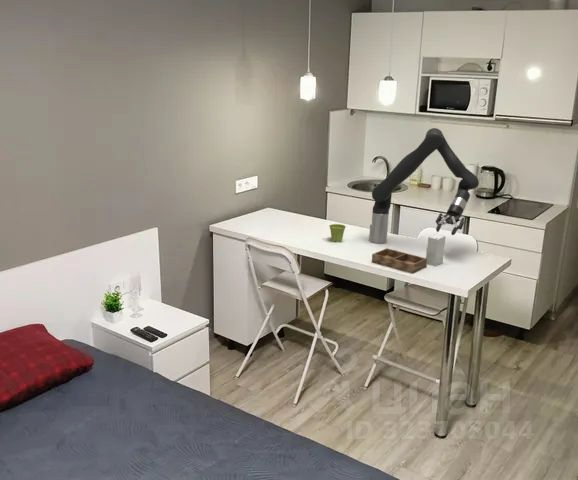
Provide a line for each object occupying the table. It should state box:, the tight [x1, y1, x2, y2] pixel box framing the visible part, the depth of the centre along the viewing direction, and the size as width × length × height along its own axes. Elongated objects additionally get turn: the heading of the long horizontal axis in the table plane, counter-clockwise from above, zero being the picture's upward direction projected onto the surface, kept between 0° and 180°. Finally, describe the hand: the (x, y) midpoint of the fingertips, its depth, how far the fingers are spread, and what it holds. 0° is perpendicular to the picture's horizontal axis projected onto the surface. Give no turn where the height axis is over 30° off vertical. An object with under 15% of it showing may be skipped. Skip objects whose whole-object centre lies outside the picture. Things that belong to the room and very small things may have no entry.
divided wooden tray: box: [371, 247, 428, 274], centre depth 313 cm, size 24×14×4 cm, turn 49°
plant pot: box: [328, 223, 347, 243], centre depth 350 cm, size 9×9×9 cm
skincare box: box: [425, 233, 446, 267], centre depth 315 cm, size 8×6×15 cm
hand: (444, 232), depth 319 cm, fingers open, 8 cm apart
